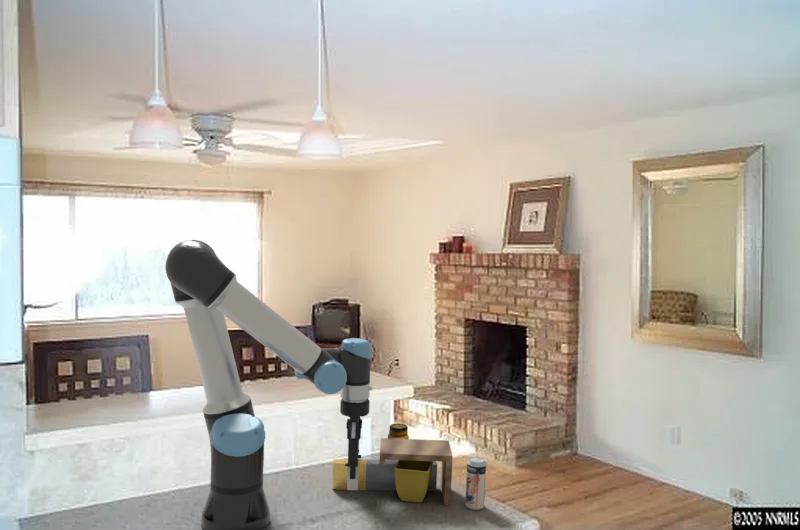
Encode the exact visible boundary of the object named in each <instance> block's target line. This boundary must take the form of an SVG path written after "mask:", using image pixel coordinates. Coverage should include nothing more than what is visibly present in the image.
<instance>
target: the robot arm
mask: <svg viewBox="0 0 800 530" xmlns="http://www.w3.org/2000/svg"><path fill="white" fill-rule="evenodd" d="M165 273H166V277H167V279H168V281H169V283H170V286H171V291H172V295H173V298H174V301H175V304H177V305H179V306H180V307H182V308H183V311H184V313H185V318H186V323H187V326H188V330H189V335H190V339H191V342H192V346H193V350H194V355H195V358H196V362H197V366H198V370H199V375H200V378H201V382H202V386H203V389H204V395H205V398H206V404H205V405H204V407H203V408H202V415H203V417H204V421H205V425H206V429H207V434H208V438H209V445H210V446H209V447H210V488H209V492H208V496H207V498H206V500H205V501H206V502H205V504H204V506H203V510H202V513H201V528H202V529H203V530H264V529H265V528H266V527H267V526H268V525H269V524H270V523H271V510H270V506H269V503H268V500H267V496H266V493H265V489H264V463H265V461H264V460H265V459H264V458H265V439H266V431H265V423H264V422H263V421H262V420H261V419H260V418H259V417H257V416H256V415H255V412H254V411H255V410H254V406H253V403H252V397H251V396H250V395H249V394H246V393H245V392H244V391H243V387H242V384H241V379H240V376H239V373H238V368H237V363H236V359H235V356H234V355H235V354H234V351H233V347H232V343H231V338H230V334H229V330H228V327H227V322H226V319H225V318H227V319H228V320H230V321H232V323H234V324H235V325H237V326H238V328H240V329H242V330H243V331H244V332H246V333H247V334H249V336H251V337H252V338H253V339H254V340H256V341H257V342H258V343H260V344H261V345H263V346H264V347H265V348H266V349H267V350H269V351H270V352H272V353H273V354H274V355H276V357H278V358H279V359H281V360H282V361H284V363H286V364H287V365H289V366H290V367H291V368H293V369H294V375H295V377H296V378H297V379H299V380H305V381H306V380H308V381H310V383H312V384H313V385H314V386H315V388H316V389H317V390H318V391H320V392H322V393H323V394H327V395H334V394H337V393H339V392H340V398H341V399H340V402H339V403H340V407H339V408H340V409H339V411H340V414H341V415H342V416H345V417H348V418H347V420H346V427H345V428H346V430H347V433H346V437H347V440H348V441H347V442H348V445H347V446H348V447H347V448H348V449H347V450H348V451H347V453H348V454H347V459H348V463H345V466H348V473H347V490H346V491H359V490H358V459H362V454H360V440H361V436H362V435H361V434H362V429H363V419H362V418H361V417H365V416H368V415H369V413H370V402H371V401H370V399H369V398H370V396H371V395H370V391H372V390H373V386H371V366H372V365H371V364H372V349H371V348H372V347H371V343H370V341H369V340H367V339H365V338H359V337H358V338H357V337H352V338H351V337H350V338H345V339H343V340H342V341H341V345H340V346H339V347H325V348H323V347H322V348H321V347H320V346H319V345H318V344H316V343H315V342H314V341H313V340H311V339H310V338H309V337H307V336H306V335H305V334H304V333H302V332H301V331H300V330H299V329H298V328H297V327H295V326H294V325H292V324H291V323H290V322H289V321H287V320H286V319H285V318H284V317H282V316H281V315H280V314H279V313H278V312H276V311H275V310H274V309H272V308H271V307H270V306H269V305H267V304H266V303H265V302H264V301H262V300H261V299H260V298H258V297H257V296H256V295H255V294H253V292H251V291H250V290H248V289H247V288H246V287H245V286H243V285H242V284H241V283H240V282H238V280H237V274H236V273H234V272H233V271H232V270H231V269H230V268H228V267H227V266H226V264H225V263H223V262H222V261H221V260H220V258H219V256H217V254H216V252H215V250H214V249H213V248H212V247H211V246H210V245H209V244H208V243H206V242H204V241H201V240H198V239H191V240H190V239H189V240H188V239H187V240H184V241H181V242H179V243H177V244H175V246H173V248H171V249H170V251H169V253H168V255H167V257H166V261H165Z"/></svg>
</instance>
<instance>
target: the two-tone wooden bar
mask: <svg viewBox="0 0 800 530" xmlns="http://www.w3.org/2000/svg"><path fill="white" fill-rule="evenodd" d="M437 462H438V461H433V465H432V472H431V478H430V482H429V485H428V488H427V491H426V492H430V491H431V492H432V491H435V492H436V491H437V481H438V480H437V479H438V478H437V477H438V476H437V475H438V463H437ZM345 463H348V458H346V459H344V458H334V459H333V464H332V465H333V466H332V490H333V489H337V490H339V491H340V490H341V491H348V490H347V473H348V466H345ZM379 463H380V459H364V458H363V459H362V458H358V490H357V491H397V490H396V485H395V471H394V468H395V466H396V464H397V463H398V460H386V465H379ZM337 490H336V491H337Z"/></svg>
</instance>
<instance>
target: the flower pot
mask: <svg viewBox="0 0 800 530" xmlns="http://www.w3.org/2000/svg"><path fill="white" fill-rule="evenodd" d="M432 465H433V461H413V460H398V463H397V464H396V466H395V468H394V471H395V485H396V490H395V491H396V492H397V495H398V497H399V498H400V500H401V501H403V502H410V503H411V502H412V503H418V504H419V503H422V502H423V500H424V498H425V496H426V494H427V492H428V491H427V488H428V485H429V482H430V478H431V472H432Z"/></svg>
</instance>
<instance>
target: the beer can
mask: <svg viewBox="0 0 800 530" xmlns="http://www.w3.org/2000/svg"><path fill="white" fill-rule="evenodd" d="M486 475H487V462H486V460H485V459H484V457H480V456H471V457H469V459H468V460H467V462H466V479H465V480H466V481H465V482H466V484H465V503H464V505H465V507H466V508H468V509H469V510H472V511H480V510H482V509H484V507H485V498H486V495H485V494H486V477H487V476H486Z"/></svg>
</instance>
